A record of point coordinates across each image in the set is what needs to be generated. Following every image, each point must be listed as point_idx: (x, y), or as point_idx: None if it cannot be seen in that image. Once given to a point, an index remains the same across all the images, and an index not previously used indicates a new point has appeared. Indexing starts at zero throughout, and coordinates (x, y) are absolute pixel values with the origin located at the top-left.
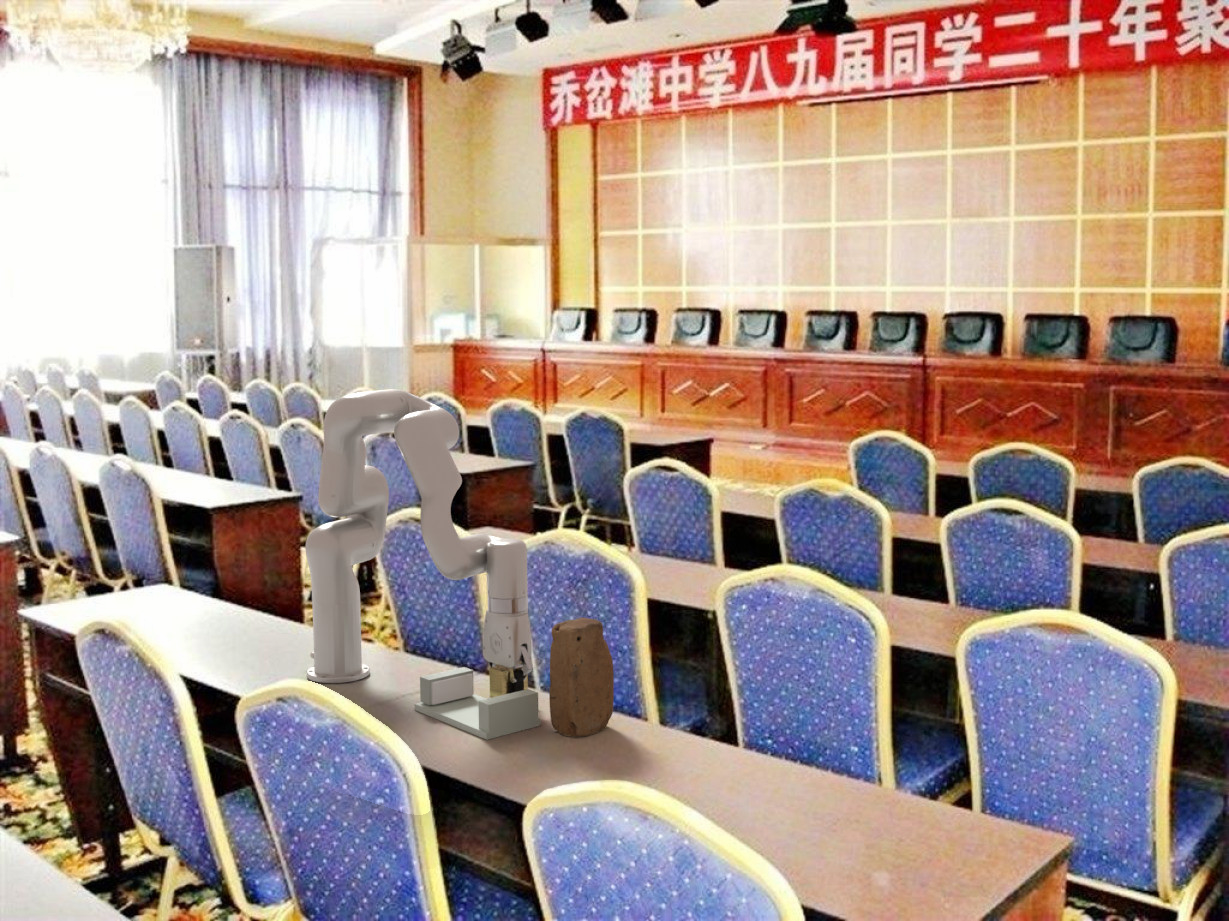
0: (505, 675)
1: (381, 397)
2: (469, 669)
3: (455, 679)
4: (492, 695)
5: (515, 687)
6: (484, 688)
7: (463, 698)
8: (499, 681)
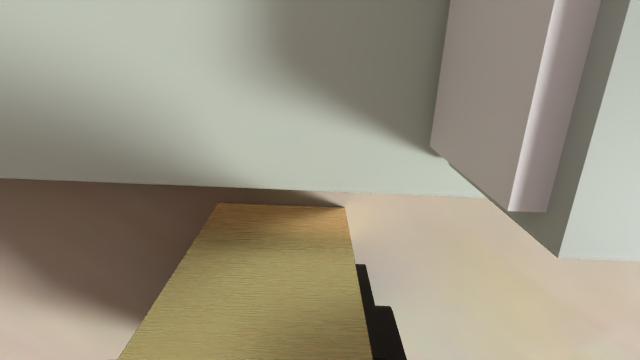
0: None
1: None
2: (622, 245)
3: None
4: (317, 230)
5: None
6: (574, 342)
7: None
8: (199, 302)
